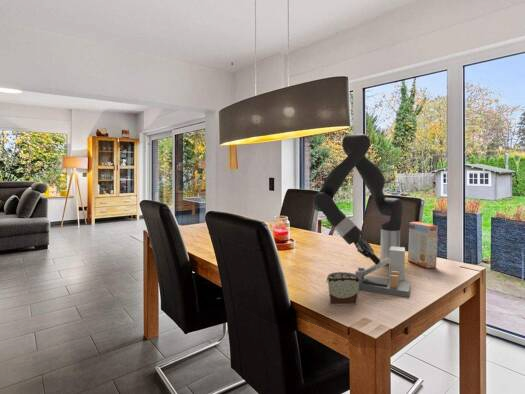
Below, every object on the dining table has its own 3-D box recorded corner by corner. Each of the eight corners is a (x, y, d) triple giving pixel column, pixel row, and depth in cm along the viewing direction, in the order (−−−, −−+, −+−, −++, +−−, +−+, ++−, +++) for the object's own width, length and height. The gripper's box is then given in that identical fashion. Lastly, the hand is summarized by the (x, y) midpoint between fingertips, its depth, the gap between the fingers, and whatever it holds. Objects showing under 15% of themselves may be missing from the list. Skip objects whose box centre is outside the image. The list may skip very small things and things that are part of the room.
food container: (355, 297, 126) (356, 271, 125) (360, 304, 119) (361, 276, 119) (322, 298, 125) (323, 271, 124) (326, 304, 119) (326, 277, 118)
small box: (389, 273, 155) (390, 245, 153) (404, 275, 152) (405, 247, 151) (388, 279, 147) (389, 249, 146) (403, 280, 145) (404, 251, 144)
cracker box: (437, 268, 163) (438, 225, 162) (426, 269, 162) (428, 226, 160) (417, 260, 177) (418, 221, 175) (407, 261, 176) (408, 221, 174)
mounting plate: (345, 278, 148) (346, 263, 148) (410, 286, 137) (410, 271, 137) (339, 286, 138) (340, 271, 137) (408, 296, 126) (409, 280, 126)
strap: (357, 272, 142) (388, 255, 136) (360, 276, 142) (391, 260, 136) (355, 275, 138) (387, 258, 132) (358, 279, 138) (390, 262, 132)
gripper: (351, 227, 133) (383, 261, 129) (357, 222, 145) (387, 253, 141) (338, 239, 136) (369, 272, 131) (345, 233, 148) (373, 264, 143)
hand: (378, 262), depth 136 cm, fingers closed
